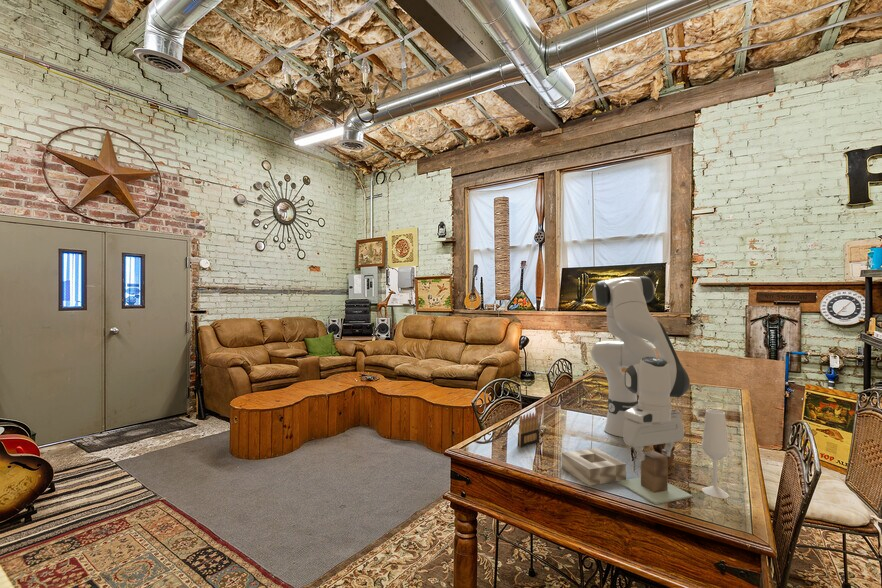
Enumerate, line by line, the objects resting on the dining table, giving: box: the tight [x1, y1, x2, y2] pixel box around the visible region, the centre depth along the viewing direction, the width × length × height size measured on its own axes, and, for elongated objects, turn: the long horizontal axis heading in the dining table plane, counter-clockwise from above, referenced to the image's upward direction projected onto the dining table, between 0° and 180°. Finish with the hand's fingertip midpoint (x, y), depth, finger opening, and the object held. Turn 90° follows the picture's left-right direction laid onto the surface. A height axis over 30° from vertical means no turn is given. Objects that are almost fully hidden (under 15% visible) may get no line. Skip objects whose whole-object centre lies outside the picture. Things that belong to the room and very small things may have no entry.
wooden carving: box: [652, 443, 676, 468], centre depth 138 cm, size 16×5×10 cm, turn 137°
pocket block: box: [561, 447, 627, 487], centre depth 132 cm, size 14×14×5 cm
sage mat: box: [617, 476, 693, 505], centre depth 121 cm, size 14×14×1 cm
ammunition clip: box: [517, 411, 540, 448], centre depth 159 cm, size 11×2×12 cm, turn 126°
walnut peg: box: [640, 450, 669, 493], centre depth 122 cm, size 5×5×10 cm
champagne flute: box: [701, 409, 730, 499], centre depth 120 cm, size 7×7×24 cm
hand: (654, 458), depth 122 cm, fingers open, 8 cm apart
